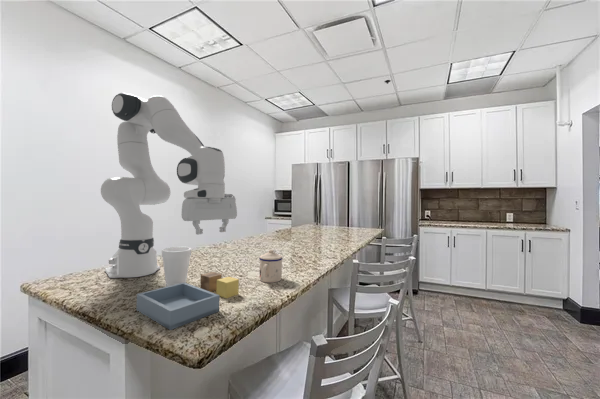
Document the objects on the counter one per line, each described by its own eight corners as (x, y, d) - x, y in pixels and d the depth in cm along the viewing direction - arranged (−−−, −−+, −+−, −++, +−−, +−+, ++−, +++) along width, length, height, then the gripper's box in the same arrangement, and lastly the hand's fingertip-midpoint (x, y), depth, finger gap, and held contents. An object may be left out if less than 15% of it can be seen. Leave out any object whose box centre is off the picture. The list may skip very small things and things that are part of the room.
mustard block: (216, 295, 88) (216, 279, 88) (228, 291, 92) (229, 276, 92) (226, 298, 85) (226, 282, 85) (238, 294, 89) (238, 279, 89)
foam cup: (179, 291, 91) (179, 252, 91) (155, 288, 93) (155, 250, 93) (195, 282, 100) (196, 247, 100) (173, 280, 102) (174, 246, 102)
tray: (136, 310, 75) (136, 294, 75) (183, 296, 86) (184, 282, 86) (170, 330, 64) (170, 311, 64) (219, 311, 75) (219, 295, 75)
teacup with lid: (263, 275, 112) (264, 247, 112) (284, 277, 110) (285, 248, 110) (252, 284, 100) (252, 252, 100) (275, 286, 98) (276, 254, 98)
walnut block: (200, 289, 94) (200, 274, 94) (212, 285, 98) (212, 271, 98) (208, 292, 91) (209, 277, 91) (221, 288, 95) (221, 274, 95)
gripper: (229, 194, 104) (229, 230, 104) (179, 192, 88) (178, 235, 87) (240, 193, 100) (240, 231, 100) (189, 191, 84) (189, 236, 84)
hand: (211, 233), depth 94 cm, fingers open, 8 cm apart
